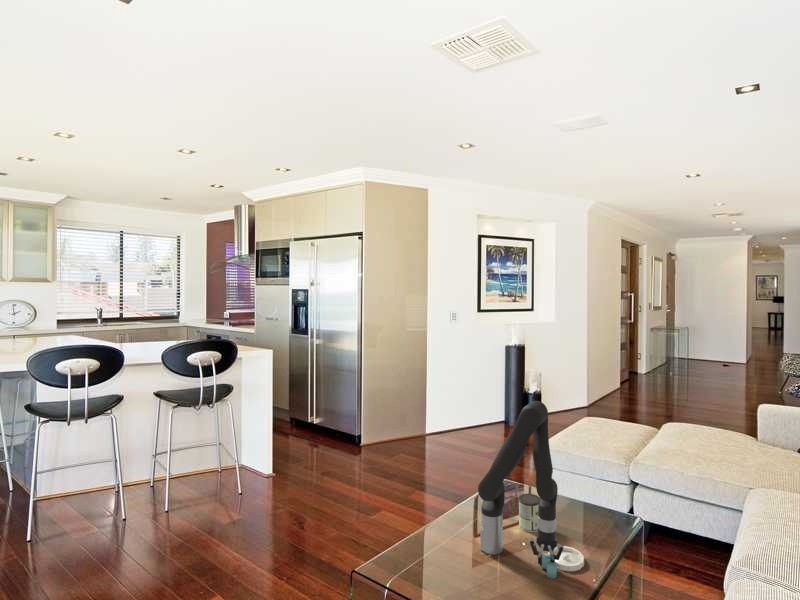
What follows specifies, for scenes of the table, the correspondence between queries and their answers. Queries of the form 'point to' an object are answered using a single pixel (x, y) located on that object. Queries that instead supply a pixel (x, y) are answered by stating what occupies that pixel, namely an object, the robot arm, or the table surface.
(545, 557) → the bead
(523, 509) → the coffee can
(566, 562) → the ring tray
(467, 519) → the table surface
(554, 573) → the bead
